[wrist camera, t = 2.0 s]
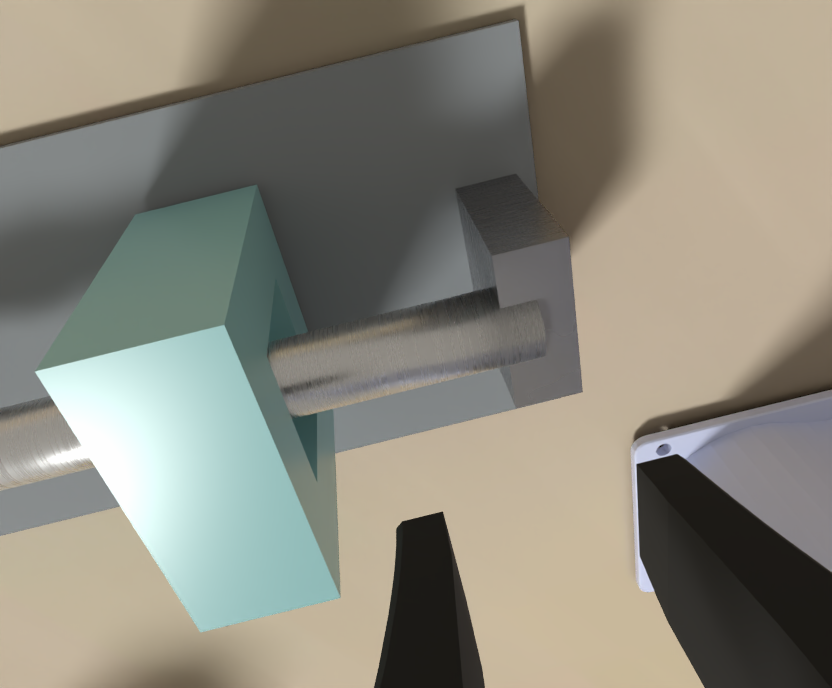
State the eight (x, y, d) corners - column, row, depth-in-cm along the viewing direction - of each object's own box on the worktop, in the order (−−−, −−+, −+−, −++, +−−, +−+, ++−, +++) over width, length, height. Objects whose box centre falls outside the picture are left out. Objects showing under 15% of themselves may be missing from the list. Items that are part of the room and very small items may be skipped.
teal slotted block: (257, 184, 16) (224, 325, 10) (333, 403, 20) (340, 597, 14) (135, 214, 16) (34, 371, 10) (234, 427, 20) (200, 632, 14)
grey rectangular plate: (515, 18, 15) (518, 20, 15) (557, 392, 21) (560, 397, 21) (-353, 233, 15) (-364, 237, 15) (-70, 546, 21) (-75, 554, 21)
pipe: (513, 169, 17) (577, 247, 13) (530, 302, 19) (590, 406, 15) (-223, 351, 17) (-399, 488, 13) (-125, 463, 19) (-249, 612, 15)
